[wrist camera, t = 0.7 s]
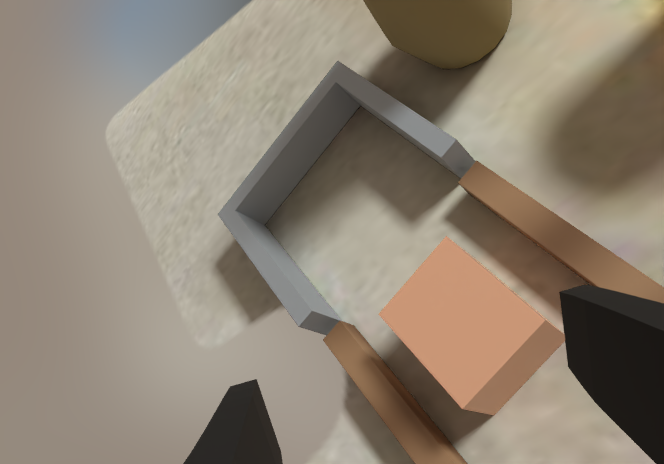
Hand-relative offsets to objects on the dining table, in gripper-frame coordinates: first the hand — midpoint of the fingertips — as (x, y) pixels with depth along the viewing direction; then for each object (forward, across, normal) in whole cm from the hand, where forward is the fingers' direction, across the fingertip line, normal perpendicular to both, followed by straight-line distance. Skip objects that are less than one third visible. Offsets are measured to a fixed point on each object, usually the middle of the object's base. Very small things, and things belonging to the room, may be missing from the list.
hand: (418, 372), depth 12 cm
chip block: (+13, -6, +8) cm, 16 cm away
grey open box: (+22, -2, +2) cm, 23 cm away
